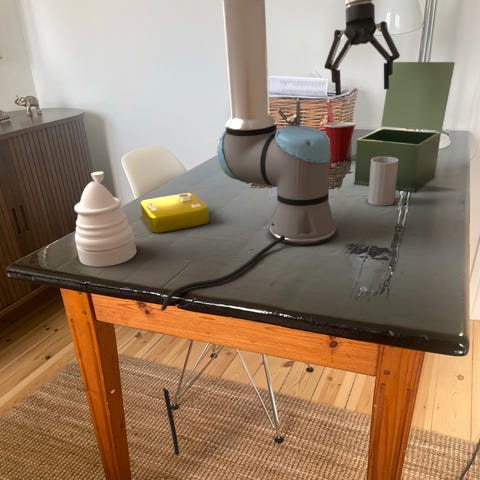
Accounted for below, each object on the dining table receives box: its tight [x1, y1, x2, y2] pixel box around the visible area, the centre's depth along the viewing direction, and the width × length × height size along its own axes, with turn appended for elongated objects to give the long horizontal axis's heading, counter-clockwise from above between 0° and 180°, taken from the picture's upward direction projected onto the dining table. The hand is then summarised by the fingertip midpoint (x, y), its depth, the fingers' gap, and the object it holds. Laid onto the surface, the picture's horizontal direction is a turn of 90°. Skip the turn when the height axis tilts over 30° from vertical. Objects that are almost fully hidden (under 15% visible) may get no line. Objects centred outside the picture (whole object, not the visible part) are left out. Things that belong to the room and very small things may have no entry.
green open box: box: [353, 127, 442, 193], centre depth 148 cm, size 17×18×13 cm
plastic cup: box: [323, 121, 357, 162], centre depth 173 cm, size 11×11×12 cm
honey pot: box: [74, 171, 138, 268], centre depth 112 cm, size 13×13×18 cm
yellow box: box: [140, 192, 210, 234], centre depth 132 cm, size 15×15×5 cm
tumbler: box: [367, 157, 399, 207], centre depth 134 cm, size 7×7×11 cm
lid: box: [380, 61, 456, 132], centre depth 147 cm, size 18×18×1 cm
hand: (361, 92), depth 143 cm, fingers open, 13 cm apart
